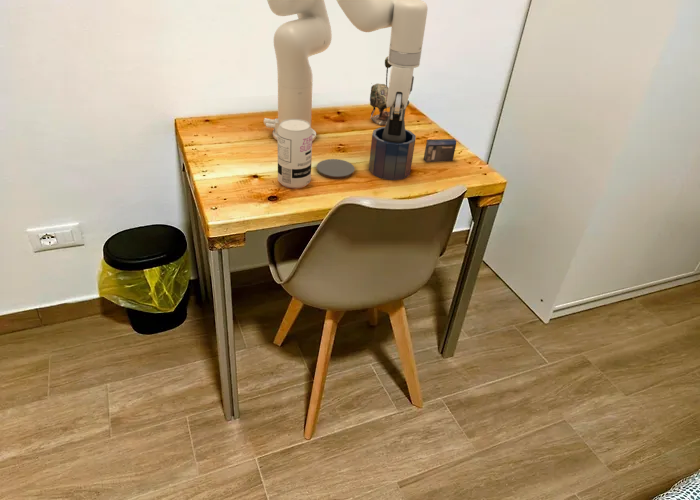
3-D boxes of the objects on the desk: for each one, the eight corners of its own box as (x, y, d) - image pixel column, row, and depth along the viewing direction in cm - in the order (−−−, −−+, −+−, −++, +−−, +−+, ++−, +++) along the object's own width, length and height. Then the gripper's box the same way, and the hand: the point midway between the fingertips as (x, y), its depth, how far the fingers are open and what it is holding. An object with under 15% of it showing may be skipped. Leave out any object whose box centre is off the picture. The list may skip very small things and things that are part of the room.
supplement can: (280, 172, 134) (279, 116, 126) (312, 175, 135) (314, 119, 126) (275, 188, 128) (274, 129, 119) (309, 190, 128) (311, 133, 119)
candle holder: (394, 177, 137) (407, 81, 122) (373, 170, 139) (384, 75, 125) (405, 169, 141) (419, 76, 127) (385, 162, 144) (396, 70, 129)
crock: (366, 177, 136) (370, 141, 130) (371, 158, 145) (374, 124, 139) (409, 182, 135) (414, 146, 130) (410, 163, 144) (416, 129, 139)
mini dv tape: (425, 162, 146) (428, 142, 143) (423, 159, 147) (426, 139, 144) (452, 161, 148) (456, 141, 144) (450, 158, 149) (454, 138, 146)
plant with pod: (360, 119, 168) (365, 54, 157) (388, 114, 174) (396, 51, 162) (374, 128, 163) (381, 62, 151) (403, 123, 168) (412, 59, 157)
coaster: (313, 176, 134) (313, 173, 134) (320, 159, 142) (320, 156, 142) (351, 181, 134) (352, 178, 133) (356, 164, 142) (356, 161, 141)
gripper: (391, 46, 130) (383, 116, 141) (385, 65, 117) (377, 142, 127) (421, 49, 130) (410, 120, 140) (419, 69, 116) (408, 145, 127)
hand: (395, 129), depth 134 cm, fingers closed on candle holder, 4 cm apart
